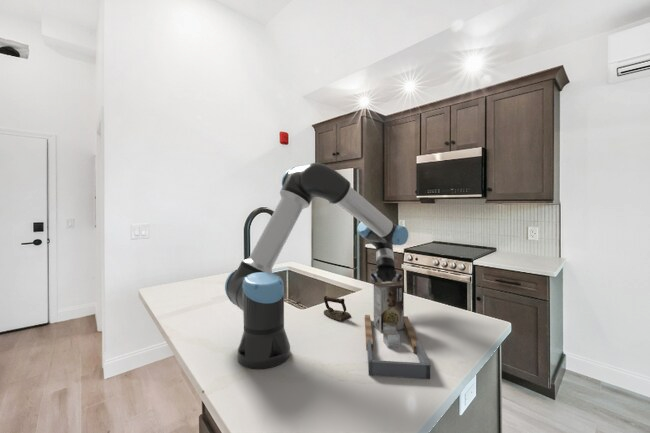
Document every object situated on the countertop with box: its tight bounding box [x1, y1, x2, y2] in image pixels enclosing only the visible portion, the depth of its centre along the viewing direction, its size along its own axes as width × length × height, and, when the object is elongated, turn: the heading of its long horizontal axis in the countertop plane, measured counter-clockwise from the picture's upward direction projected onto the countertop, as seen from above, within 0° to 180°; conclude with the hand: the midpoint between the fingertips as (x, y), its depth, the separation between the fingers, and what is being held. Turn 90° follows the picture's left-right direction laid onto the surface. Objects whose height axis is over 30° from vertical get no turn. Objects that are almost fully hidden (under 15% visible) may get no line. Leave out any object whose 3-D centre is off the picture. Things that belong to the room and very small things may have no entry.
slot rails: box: [364, 314, 419, 354], centre depth 102 cm, size 24×16×2 cm, turn 174°
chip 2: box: [382, 329, 401, 349], centre depth 95 cm, size 4×4×4 cm
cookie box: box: [373, 280, 405, 333], centre depth 107 cm, size 9×6×16 cm
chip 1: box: [383, 322, 397, 331], centre depth 101 cm, size 4×4×4 cm
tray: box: [366, 339, 431, 380], centre depth 83 cm, size 13×16×4 cm
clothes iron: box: [323, 295, 352, 323], centre depth 118 cm, size 7×11×10 cm, turn 54°
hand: (389, 314), depth 112 cm, fingers closed
